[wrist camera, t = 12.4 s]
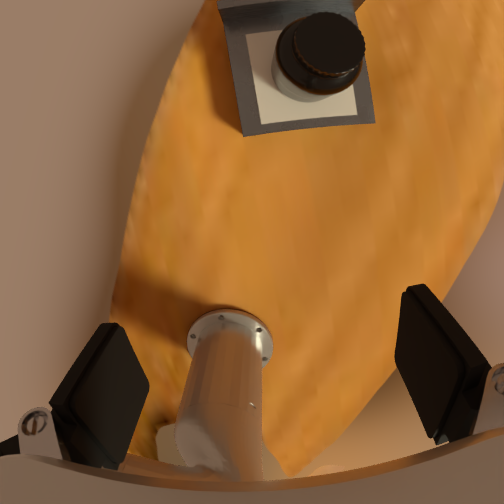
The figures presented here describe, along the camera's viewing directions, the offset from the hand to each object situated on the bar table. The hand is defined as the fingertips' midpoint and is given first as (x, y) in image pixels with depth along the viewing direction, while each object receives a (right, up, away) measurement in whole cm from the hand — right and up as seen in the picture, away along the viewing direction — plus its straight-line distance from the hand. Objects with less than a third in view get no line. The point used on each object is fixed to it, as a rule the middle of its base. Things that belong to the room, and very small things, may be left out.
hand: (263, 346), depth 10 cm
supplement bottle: (+5, +21, +17) cm, 28 cm away
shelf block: (+5, +23, +21) cm, 32 cm away
